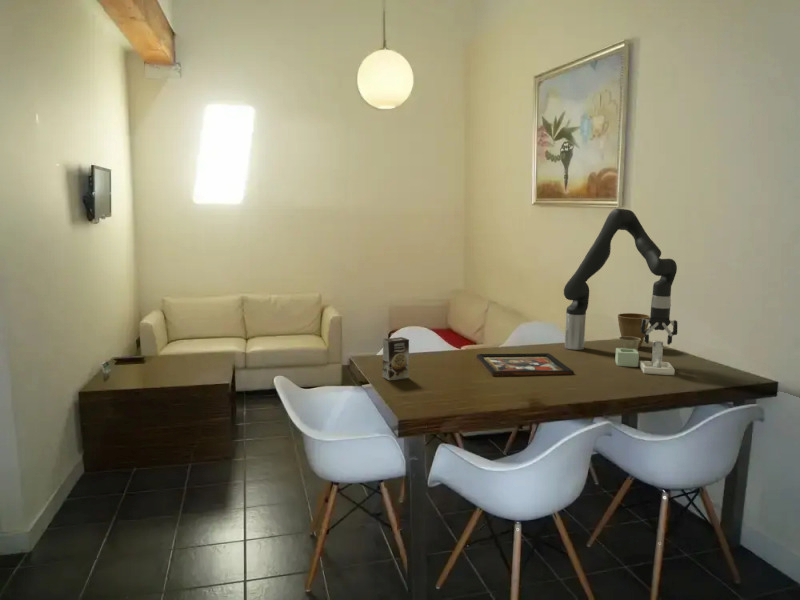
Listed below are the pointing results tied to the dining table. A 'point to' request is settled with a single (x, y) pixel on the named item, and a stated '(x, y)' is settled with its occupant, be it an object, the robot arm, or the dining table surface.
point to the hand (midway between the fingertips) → (657, 343)
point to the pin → (657, 354)
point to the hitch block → (626, 357)
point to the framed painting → (523, 364)
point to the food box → (395, 358)
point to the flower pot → (629, 342)
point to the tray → (647, 368)
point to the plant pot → (632, 325)
